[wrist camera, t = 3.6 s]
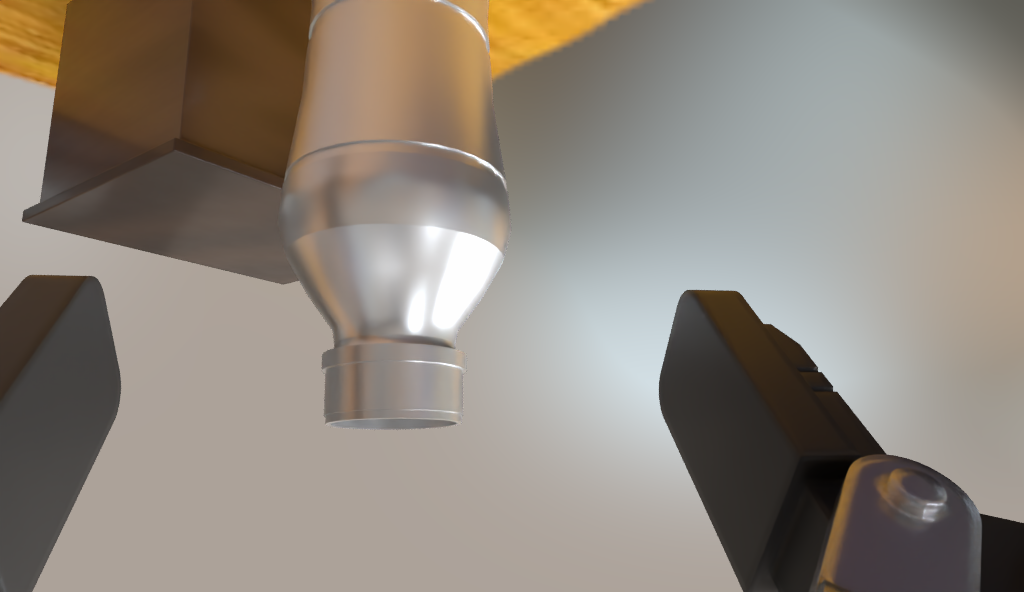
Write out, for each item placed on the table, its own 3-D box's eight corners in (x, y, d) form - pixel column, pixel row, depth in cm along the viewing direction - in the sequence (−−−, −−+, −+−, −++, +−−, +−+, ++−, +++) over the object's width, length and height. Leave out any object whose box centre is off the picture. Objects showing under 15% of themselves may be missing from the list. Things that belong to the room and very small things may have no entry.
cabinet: (44, -9, 34) (10, 227, 31) (200, -136, 27) (173, 150, 24) (282, 103, 44) (271, 287, 41) (437, 30, 37) (437, 245, 34)
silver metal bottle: (323, -122, 28) (297, 435, 23) (278, -310, 21) (228, 414, 16) (499, -117, 28) (511, 431, 23) (509, -301, 21) (528, 409, 17)
